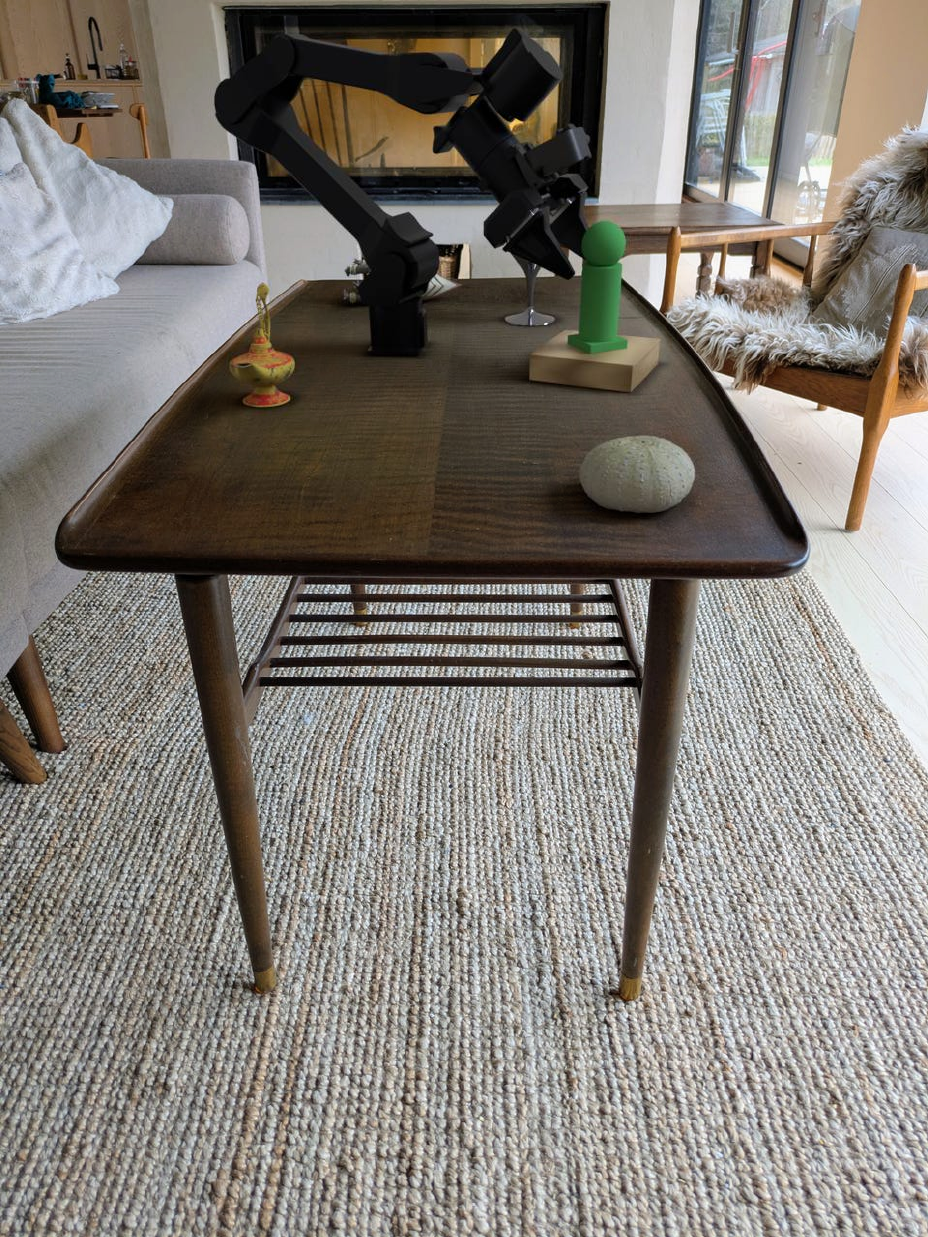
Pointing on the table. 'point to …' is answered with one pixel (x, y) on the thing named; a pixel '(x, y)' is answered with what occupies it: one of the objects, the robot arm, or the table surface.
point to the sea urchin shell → (637, 474)
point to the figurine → (434, 289)
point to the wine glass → (529, 315)
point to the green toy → (600, 289)
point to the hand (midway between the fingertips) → (585, 269)
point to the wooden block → (594, 363)
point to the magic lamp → (263, 364)
